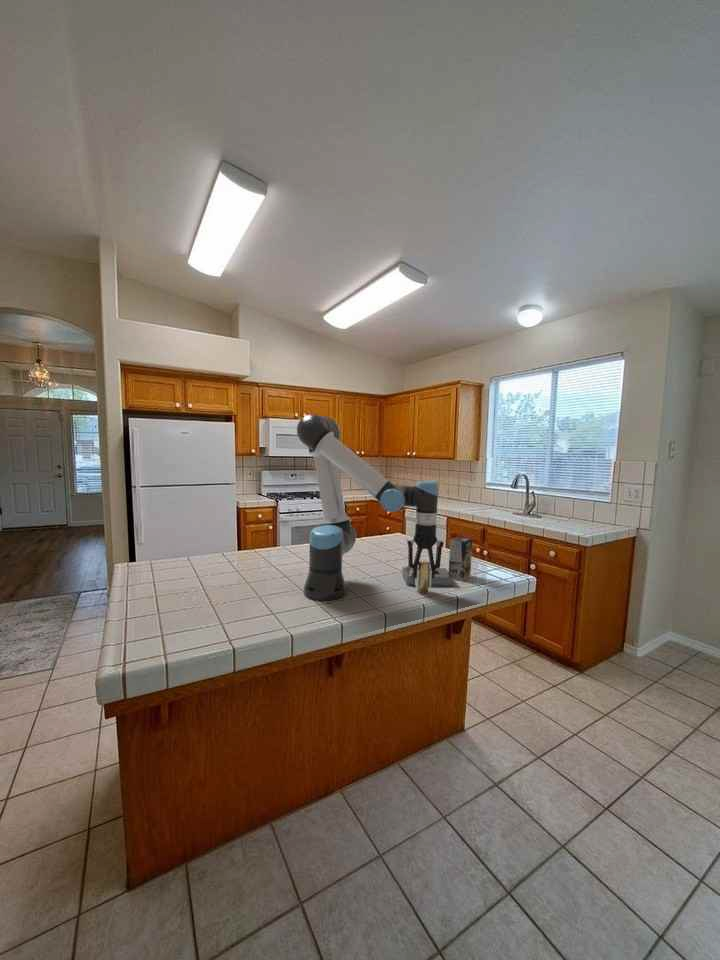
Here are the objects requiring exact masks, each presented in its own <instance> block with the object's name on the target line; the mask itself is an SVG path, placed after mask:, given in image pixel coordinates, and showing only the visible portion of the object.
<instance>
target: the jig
mask: <svg viewBox="0 0 720 960" xmlns="http://www.w3.org/2000/svg"><path fill="white" fill-rule="evenodd" d="M401 572H402V573H401V574H402V577H403V580H404V583H405V584H406V586H414V587H416V585H415V578H414V577H413V568H410V567H409V565H408V563H407V564H406V566H405V567H404V566H403V567H402V571H401ZM431 587H454V579H453V576H452V575H451V574H450V573H449V570H448V569H447V568H446V567H440V568H436V569H435V573H434V578H432V580H431Z"/></svg>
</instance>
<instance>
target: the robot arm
mask: <svg viewBox="0 0 720 960" xmlns="http://www.w3.org/2000/svg"><path fill="white" fill-rule="evenodd" d="M296 435H297V438H298V439H299V440H300V442H301V443H302V444H303V445H304V446H306V447H307V448H308V452H309V454H310V455H311V456H312V457H313V459H314V465H315V471H316V477H317V478H316V479H317V484H318V490H319V491H318V492H319V499H320V503H321V508H322V509H321V510H322V516H323V519H321V521H320V526H316V527H314V528H312V529H311V531H310V535H309V539H308V540H309V557H308V558H309V567H308V568H309V570H308V574H307V577H306V579H305V583H304V585H303V595H304V596H305V597H306V598H308V599H313V600H315V601H334V600H338V599H341V598H343V597H345V596H346V594H347V585H346V582H345V579H344V575H343V556H344V555H345V554H346V553H349V552H350V551H351V550H352V548H353V547H354V545H355V543H356V542H357V541H356V540H357V533H356V531H355V529H354V528H355V527H353V526H352V524H351V522H352V521H351V518H350V516H349V515H347V514H346V509H345V502H344V497H343V491H342V485H341V477H340V471H341V472H343V473H344V474H345V476H348V477H349V478H350V479H351V480H353V481H354V482H355V483H356V484H357V485H359V487H360V488H362V489H363V490H365V491H366V492H367V493H368V494H369V495H371V496H372V497H373V498H374V499H375V500H377V501H378V502H379V503H380V506H381V507H382V508H383V509H384V510H385V511H386V512H390V513H391V512H393V513H394V512H398V511H400V510H401V509H402V508H403V507H412V508H415V525H414V526H415V528H414V537H413V538H412V539H407V540H406V543H407V544H406V545H407V547H408V550H407V553H408V555H407V558H408V560H407V562H408V563H407V564H408V565H409V567H410V568H413V577H414V578H415V585H416V586H415V587H416V588H418V587H419V569H418V566H419V561H421V560H420V559H421V555H422V552H423V550H427V553H428V555H427V556H428V559H429V561H428V562H429V563H430V567H429V588H431V589H432V586H431V580H432V578H434V573H435V569H436V568H441V561H442V560H441V559H442V549H443V547H444V542H443V540H439V539H438V538H437V521H438V519H437V518H438V517H437V515H438V514H437V513H438V500H439V499H438V498H439V490H438V489H439V485H438V483H437V482H436V481H431V480H420V481H417V483H416V485H415V486H411V485H410V486H409V485H400V484H399V485H397V484H394V483H392V482H391V481H390V480H389V479H387V478H386V477H384V476H383V475H382V474H381V473H380V472H379V471H377V469H375V468H374V467H372V466H371V465H370V464H368V462H366V461H365V460H363V459H362V458H361V457H360V456H359V455H357V453H355V452H353V450H352V449H350V448H349V447H348V446H347V445H345V444H343V443H342V441H340V436H341V432H340V428H339V425H338V424H337V423H336V422H335V420H333V419H331V418H330V417H328V416H322V415H318V414H306V415H304V416H303V417H302V418H301V419H300V420H299V421H298V424H297V426H296ZM339 470H340V471H339ZM415 544H416V546H417V547H416V551H415V552H416V553H415V555H414V554H413V552H414V551H413V546H414V545H415ZM435 544H436V550H435V551H436V552H435V553H436V554H435V557H434V553H433V547H434V546H435ZM413 555H414V556H413ZM413 557H414V559H413ZM429 588H428V589H429Z"/></svg>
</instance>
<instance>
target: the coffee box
mask: <svg viewBox="0 0 720 960" xmlns="http://www.w3.org/2000/svg"><path fill="white" fill-rule="evenodd" d="M449 542H450V544H449V558H448V572H449V573H450V574H451V575H452V576H453V580H456V581H460V582H463V581H464V580H466V579H468V578H469V577H471V572H472V571H471V569H472V568H471V567H472V552H473V550H472V547H473V538H469V537H461V536H457V537H456V538H451V539H450V540H449Z"/></svg>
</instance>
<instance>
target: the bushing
mask: <svg viewBox="0 0 720 960" xmlns="http://www.w3.org/2000/svg"><path fill="white" fill-rule="evenodd" d="M429 568H431V567H430V561H426V560H419V564H418V569H419V587H417V593H419V594H425V595H426V594H429Z"/></svg>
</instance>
